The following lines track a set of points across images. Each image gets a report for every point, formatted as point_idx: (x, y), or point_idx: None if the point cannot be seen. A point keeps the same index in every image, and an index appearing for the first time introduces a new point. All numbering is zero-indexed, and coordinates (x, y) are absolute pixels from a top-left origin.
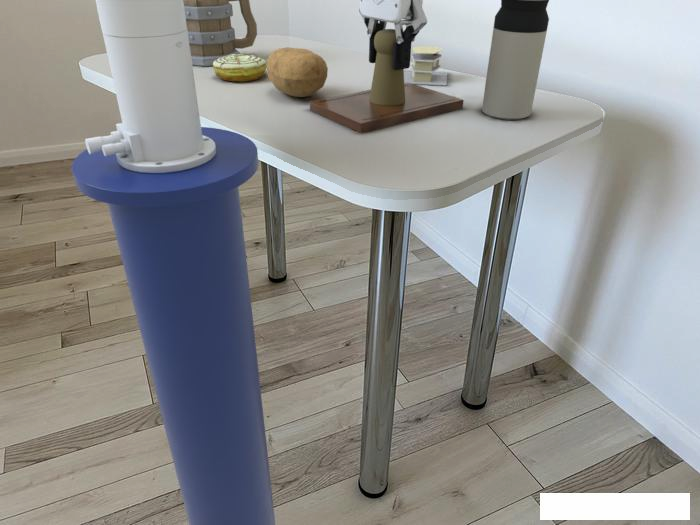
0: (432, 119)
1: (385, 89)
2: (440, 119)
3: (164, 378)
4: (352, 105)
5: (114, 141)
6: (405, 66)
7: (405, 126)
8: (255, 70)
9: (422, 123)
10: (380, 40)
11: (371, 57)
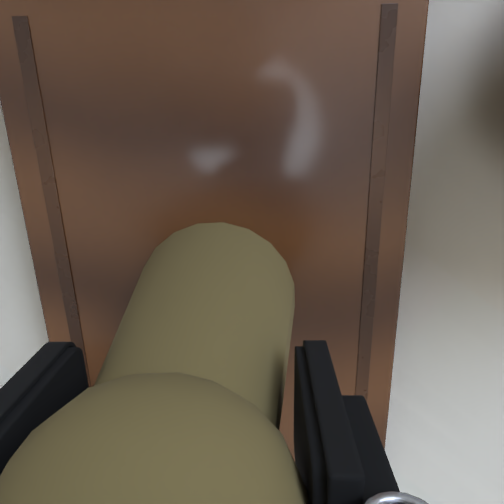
0: (41, 339)
1: (149, 272)
2: (29, 359)
3: None
4: (238, 119)
5: None
6: None
7: (11, 210)
8: None
9: (17, 283)
10: (87, 434)
11: (307, 360)
